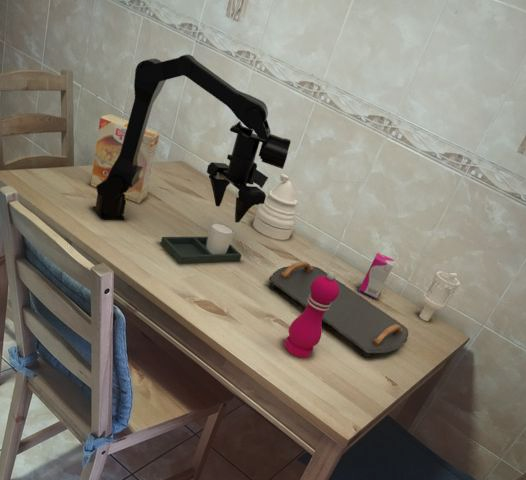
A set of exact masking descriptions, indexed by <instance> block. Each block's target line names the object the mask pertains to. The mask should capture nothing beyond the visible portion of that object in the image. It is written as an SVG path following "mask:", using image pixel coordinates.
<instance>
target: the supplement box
mask: <svg viewBox="0 0 526 480" xmlns="http://www.w3.org/2000/svg"><path fill="white" fill-rule="evenodd" d="M395 261H396V260H395V259H393V258H391V257H389V256H386V255H385V254H383V253H380V252H377V253H376V255H375V257H374V258H373V260H372V263H371V265H370V267H369V269H368V270H367V273H366V274H365V277H364V278H363V280H362V283H361V284H360V287H359V290H358V293H360V294H363V295H365V296H367V297H369V298H371V299H374V300H377V299H378V297H379V294H380V293H381V291H382V289H383V287H384V285H385V283H386V281H387V279H388V277H389V275H390V274H391V271H392V270H393V268H394V265H395Z"/></svg>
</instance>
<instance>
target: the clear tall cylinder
mask: <svg viewBox="0 0 526 480" xmlns="http://www.w3.org/2000/svg"><path fill="white" fill-rule="evenodd" d="M442 277H443V278H442ZM457 277H458V274H457V273H455V272H449V273H448V272H445V271H440V270H439V271H436V272H435V275H434V277H433V279H432V280H431V283H429V286H428V287H427V289H426V291H425V292H424V293H423V294H422V297H421V298H422V300H423V301H424V303H426V304H425V305H424V306H423V308H422V311H421V312H420V313H419V318H420V319H421V320H422V321H426V322H429V321H430V320H431V317H432V316H433V314H434V313H435V311H436V309H438V310H444V309H446V307H447V305H448V303H449V302H450V300H451V299H452V297H453V296H454V294H455V292H456V291H457V289H458V288H459V286H460V285H461V282H460V281H459V279H457ZM444 278H446V279H448V280H446V279H444ZM440 284H441V285H442V286H443V287H440V286H439V285H440Z"/></svg>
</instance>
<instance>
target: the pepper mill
mask: <svg viewBox="0 0 526 480" xmlns="http://www.w3.org/2000/svg"><path fill="white" fill-rule="evenodd" d="M327 273H328V274H327V276H320V277H317V278H316V279H315V280H314V281H313V282H312V284H311V287H310V290H311V294H310V295H309V298H308V299H307V301H308V305H307V307H306V308H305V309H304V310H303V312H301V314H299V315H298V316H297V317H296V318H295V319H294V320H293V321H292V322H291V324H290V326H288V336H287V337H286V339H285V342H284V347H285V349H286V350H287V352H288V353H290V354H291V355H293V356H295V357H298V358H308V357H309V356H311V354H312V352H313V350H314V347H315V346H317V345H318V344H319V342H320V341H321V339H322V332H323V330H322V329H323V327H322V322H323V320H322V318H323V315H324V313H325V312H326V311H327V310H329V308H330V306H331V302H333V301H334V300H336V298H337V297H338V294H339V286H338V284H337V282H336V281H335V280H334V279H336V273H335V272H333V271H329V272H327Z"/></svg>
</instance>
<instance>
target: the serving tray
mask: <svg viewBox="0 0 526 480" xmlns="http://www.w3.org/2000/svg"><path fill="white" fill-rule="evenodd" d="M328 273H329V272H326V271H324V269H321V268H320V267H319V266H313V265H311V264H310V263H309V262H307V261H297V262H295V263H292V264H290V265H287V266H284V267H281V268H278V269H276V270H275V271H274V272H273V273H272V274H271V275H270V276H269V277H268V281H269V288H270V289H272V290H275V289H277V288H278V289H280V290H281V291H282V292H284V293H285V294H286V295H288V296H289V297H291V298H292V299H293V300H294V301H296V302H297V303H299V304H300V305H301V306H303V307H304V308H305V309H306V307H307V305H308V301H307V299H308V298H309V295H310V294H311V290H310V287H311V284H312V282H313V281H314V280H315V279H316V278H317V277H320V276H327V274H328ZM334 280H335V281H336V282H337V284H338V286H339V294H338V297H337V298H336V300H334V301H333V302H331V306H330V308H329V310H327V311H326V312H325V313H324V315H323V318H322V322H324V323H326V324H327V325H328V326H330V327H331V328H332V329H334V330H335V331H336V332H338V333H339V334H341V335H342V336H343V337H345V338H346V339H347V340H349V341H350V342H351V343H353V344H354V345H356V346H357V347H358V348H360V349H361V356H362V357H363V358H366V359H367V358H369V357H370V356H371V355H372V354H384V353H390V352H393V351H396V350H399V349H400V348H402V347H403V346H404V344H405V343H407V341H408V337H409V329H408V328H407V327H406V326H405V325H404V324H402V323H400V322H399V321H398V320H396V319H395V318H393V317H392V316H390V315H389V314H388V313H386V312H385V311H384V310H382V309H381V308H379V307H377V306H376V305H374V304H372V303H371V302H370V301H368V300H367V299H366V298H365V297H363V296H362V295H361V294H358V293H357V292H356V291H354V290H353V289H351V288H350V287H348V286H347V285H346V284H344V283H343V282H341V281H339V280H337V279H336V278H335V279H334Z"/></svg>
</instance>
